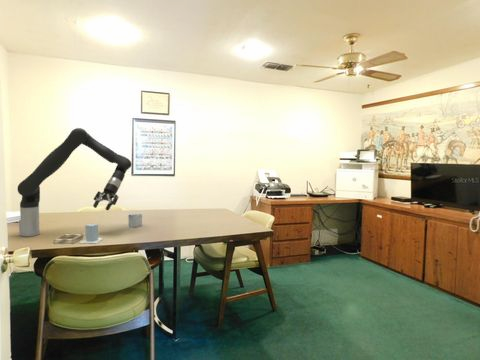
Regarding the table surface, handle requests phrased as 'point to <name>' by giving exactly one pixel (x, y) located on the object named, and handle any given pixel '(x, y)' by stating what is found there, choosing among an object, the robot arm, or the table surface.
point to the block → (92, 232)
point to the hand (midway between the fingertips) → (100, 208)
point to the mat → (92, 242)
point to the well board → (68, 238)
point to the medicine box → (135, 220)
